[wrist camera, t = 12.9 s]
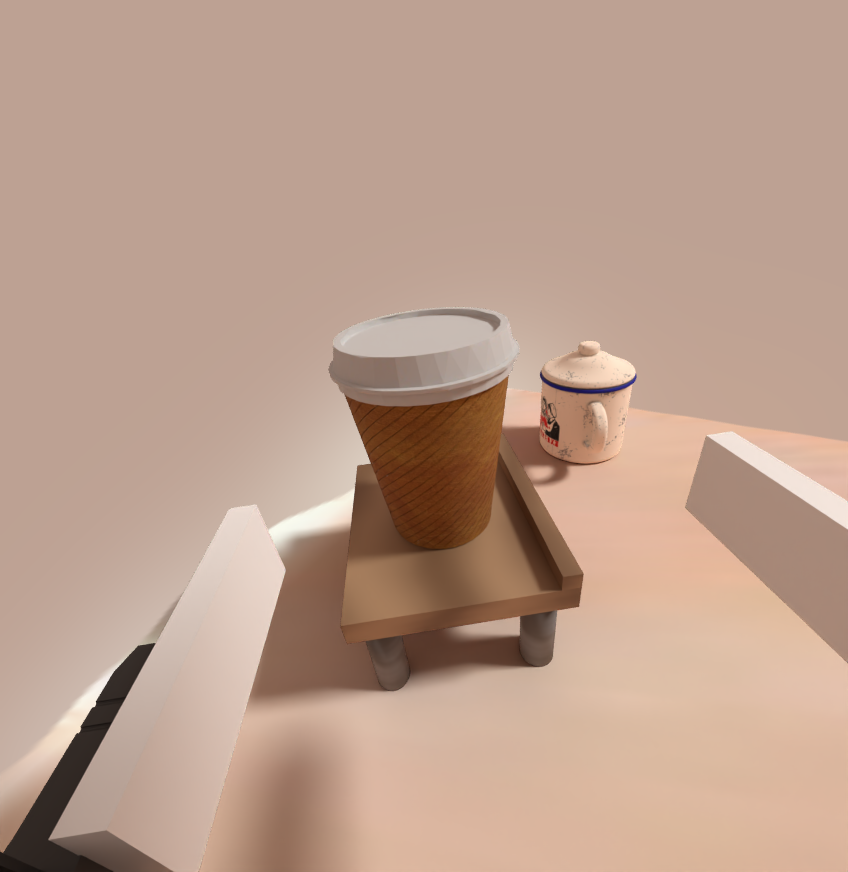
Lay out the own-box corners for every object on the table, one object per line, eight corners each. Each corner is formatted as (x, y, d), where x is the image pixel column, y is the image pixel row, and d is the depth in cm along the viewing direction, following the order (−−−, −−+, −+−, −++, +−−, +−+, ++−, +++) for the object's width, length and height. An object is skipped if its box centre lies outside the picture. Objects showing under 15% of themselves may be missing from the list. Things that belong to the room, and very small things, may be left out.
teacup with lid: (533, 425, 48) (536, 333, 42) (610, 423, 46) (625, 327, 40) (545, 484, 37) (552, 373, 32) (645, 483, 36) (671, 367, 30)
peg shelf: (504, 513, 34) (503, 433, 30) (569, 670, 22) (583, 573, 18) (374, 533, 34) (354, 455, 30) (369, 704, 22) (335, 613, 18)
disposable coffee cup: (339, 525, 25) (284, 345, 19) (435, 456, 30) (416, 301, 24) (453, 604, 19) (426, 377, 13) (545, 500, 24) (557, 310, 18)
